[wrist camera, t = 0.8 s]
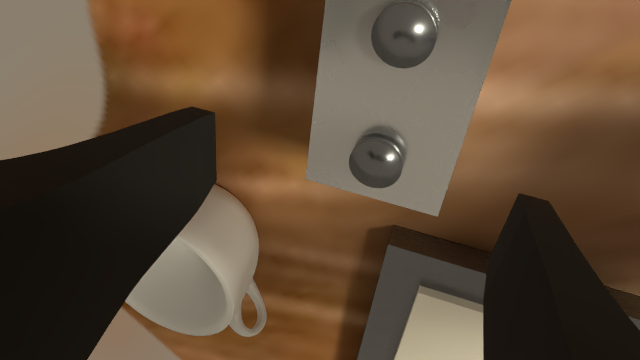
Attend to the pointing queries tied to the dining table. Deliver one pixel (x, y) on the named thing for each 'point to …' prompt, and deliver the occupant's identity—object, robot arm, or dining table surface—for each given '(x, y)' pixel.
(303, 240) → the dining table surface
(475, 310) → the stand
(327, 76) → the block
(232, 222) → the teacup
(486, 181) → the dining table surface
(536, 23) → the dining table surface
